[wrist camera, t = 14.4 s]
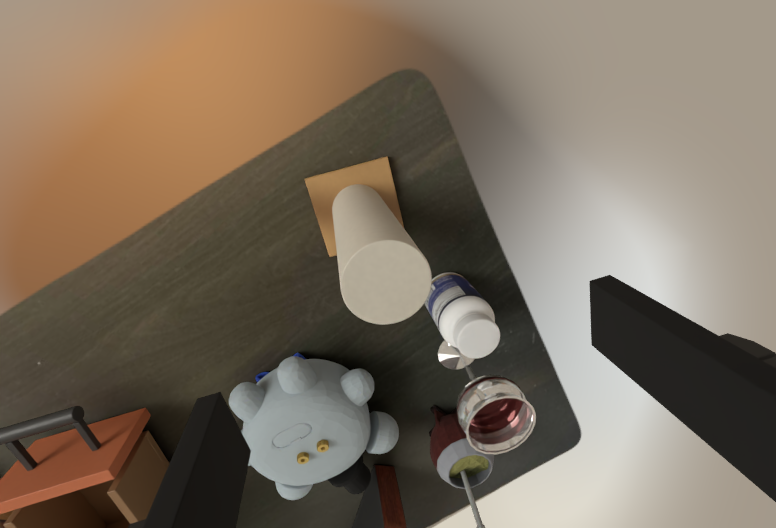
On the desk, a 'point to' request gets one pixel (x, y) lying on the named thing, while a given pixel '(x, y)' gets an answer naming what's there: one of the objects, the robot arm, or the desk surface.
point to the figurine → (312, 425)
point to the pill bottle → (462, 315)
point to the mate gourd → (458, 456)
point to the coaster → (333, 182)
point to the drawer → (81, 472)
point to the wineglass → (489, 407)
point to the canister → (377, 259)
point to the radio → (381, 501)
